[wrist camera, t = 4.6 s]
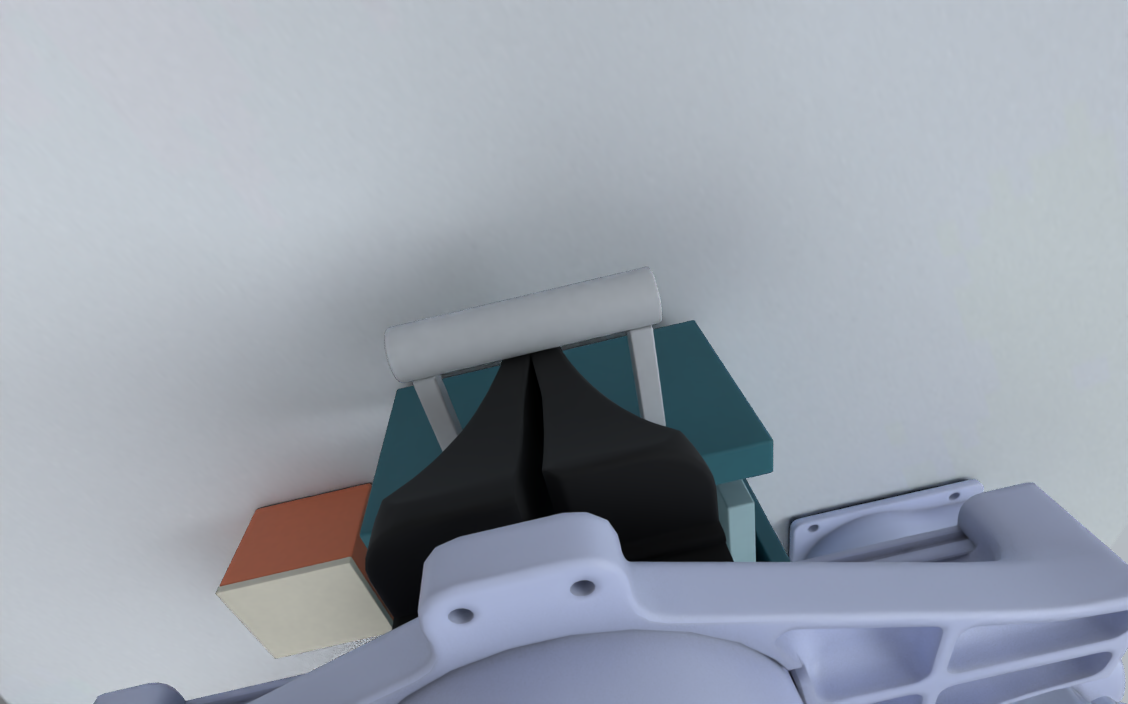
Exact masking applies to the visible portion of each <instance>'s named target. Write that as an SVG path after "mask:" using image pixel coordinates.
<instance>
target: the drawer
mask: <svg viewBox="0 0 1128 704" xmlns="http://www.w3.org/2000/svg"><path fill="white" fill-rule="evenodd" d="M661 320H662V306H661V300H660V294H659V290H658V286H657V283H656V280H655V277H654V274H653V272H652V271H651V269H650V268H649V267H643V268H639V269H634V270H630V271H626V272H622V273H617V274H613V275H609V276H605V277H600V278H596V279H592V280H588V281H583V282H579V283H575V284H571V285H567V286H562V287H558V288H554V289H550V290H545V291H541V292H537V293H533V294H528V295H524V296H520V297H516V298H511V299H507V300H503V301H499V302H494V303H490V304H486V305H482V306H478V307H473V308H469V309H465V310H461V311H456V312H452V313H448V314H444V315H439V316H435V317H431V318H427V319H422V320H418V321H414V322H410V323H405V324H401V325H397V326H393V327H389V328H388V329H387V330H386V332H385V338H384V344H385V352H386V357H387V360H388V363H389V366H390V369H391V371H392V373H393V375H394V376H395V378H396V379H397V380H398V381H399V382H401V383H406V382H410V381H413V385H414V386H409V387H405V388H401V389H398V390H397V392H396V395H395V399H394V403H393V407H392V411H391V415H390V419H389V422H388V426H387V430H386V434H385V438H384V442H383V446H382V449H381V453H380V457H379V461H378V465H377V469H376V473H375V476H374V480H373V484H372V488H371V492H370V496H369V500H368V503H367V507H366V511H365V515H364V519H363V523H362V526H361V530H360V538H361V540H362V541H363V543H364V544H365V546H366V548H367V549H368V545H369V541H370V537H371V532H372V528H373V525H374V522H375V518H376V516H377V513H378V510H379V508H380V505H381V502H382V500H383V499H384V498H386V497H387V496H389V495H390V494H392V493H393V492H395V491H396V490H397V489H399V488H400V487H402V486H403V485H404V484H406V483H407V482H409V481H410V480H411V479H413V478H414V477H415V476H416V475H418V474H419V473H420V472H421V471H422V470H424V469H425V468H426V467H427V466H428V465H429V464H430V463H432V462H433V461H434V460H435V459H436V458H437V457H438V456H439V455H440V454H441V453H442V452H443V451H444V450H445V449H446V448H447V447H448V446H449V445H450V443H451V442H452V441H453V440H454V439H455V438H456V437H457V436H458V435H459V434H460V433H461V431H462V430H463V429H464V427H465V426H466V425H467V424H468V422H469V421H470V419H471V418H472V417H473V415H474V414H475V412H476V410H477V409H478V407H479V405H480V404H481V402H482V400H483V399H484V397H485V396H486V394H487V392H488V390H489V388H490V386H491V384H492V382H493V380H494V378H495V376H496V374H497V372H498V370H499V367H500V365H499V366H495V367H491V368H486V369H482V370H478V371H474V372H469V373H465V374H461V375H456V376H452V377H448V378H444V379H442V378H441V375H440V374H444V373H448V372H453V371H457V370H461V369H465V368H470V367H474V366H478V365H482V364H487V363H491V362H495V361H499V360H504V359H508V358H512V357H517V356H521V355H525V354H529V353H534V352H538V351H542V350H546V349H551V348H555V347H559V346H564V345H568V344H572V343H576V342H581V341H585V340H589V339H593V338H598V337H602V336H606V335H610V334H615V333H619V332H623V331H626V333H627V336H623V337H619V338H614V339H610V340H606V341H602V342H597V343H593V344H589V345H585V346H580V347H576V348H572V349H567V350H563V353H564V354H565V356H566V357H567V359H568V360H569V361H570V362H571V364H572V365H573V366H574V367H575V368H576V369H577V370H578V372H579V373H580V374H581V375H582V376H583V377H584V378H585V379H586V380H587V381H588V382H589V383H590V384H591V385H592V386H594V387H595V388H596V389H597V390H598V391H599V392H601V393H602V394H603V395H604V396H606V397H607V398H608V399H610V400H611V401H613V402H614V403H616V404H617V405H619V406H620V407H622V408H623V409H625V410H627V411H629V412H631V413H633V414H635V415H637V416H638V417H641V418H643V419H646V420H648V421H650V422H653V423H656V424H659V425H662V426H666V427H669V428H673V429H676V430H679V431H681V432H682V433H683V434H684V435H685V436H686V437H687V438H688V440H689V441H690V442H691V443H692V444H693V446H694V447H695V448H696V450H697V451H698V452H699V453H700V455H701V456H702V458H703V459H704V461H705V462H706V464H707V465H708V467H709V469H710V471H711V473H712V475H713V477H714V480H715V484H716V488H717V500H718V513H719V521H720V523H721V526H722V528H723V530H724V532H725V536H726V544H727V547H728V549H729V551H730V554H731V556H732V558H733V560H734V562H756V546H755V504H754V501H753V499H752V497H751V495H750V493H749V491H748V489H747V487H746V486H745V484H744V482H743V480H742V479H745V478H750V477H754V476H758V475H763V474H767V473H771V472H773V439H772V438H771V436H770V435H769V433H768V432H767V430H766V429H765V427H764V426H763V424H762V423H761V421H760V420H759V418H758V416H757V415H756V413H755V412H754V410H753V409H752V407H751V406H750V404H749V403H748V401H747V400H746V398H745V397H744V395H743V394H742V392H741V391H740V389H739V388H738V386H737V385H736V383H735V381H734V380H733V378H732V377H731V375H730V374H729V372H728V371H727V369H726V368H725V366H724V365H723V363H722V362H721V360H720V359H719V357H718V356H717V354H716V353H715V351H714V350H713V348H712V346H711V345H710V343H709V342H708V340H707V339H706V337H705V336H704V334H703V333H702V331H701V330H700V328H699V327H698V325H697V324H696V322H695V321H694V320H691V321H687V322H683V323H679V324H674V325H670V326H666V327H661V328H657V329H653V327H652V325H653V324H657V323H660V322H661Z"/></svg>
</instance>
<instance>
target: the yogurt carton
mask: <svg viewBox="0 0 1128 704" xmlns="http://www.w3.org/2000/svg"><path fill="white" fill-rule="evenodd" d="M371 488H372V485H371V484H370V483H368V484H364V485H359V486H355V487H351V488H346V489H342V490H338V491H333V492H329V493H325V494H320V495H316V496H312V497H307V498H303V499H299V500H294V501H290V502H286V503H281V504H277V505H273V506H269V507H264V508H260V509H257V510H256V511H255V513H254V515H253V517H252V519H251V521H250V523H249V525H248V527H247V530H246V532H245V534H244V536H243V538H242V540H241V542H240V544H239V546H238V548H237V550H236V552H235V554H234V557H233V559H232V561H231V563H230V565H229V567H228V569H227V571H226V573H225V575H224V577H223V579H222V581H221V584H220V587H218V589H217V591H216V593H215V594H216V595H217V596H218V597H219V598H220V599H221V601H222V602H223V603H224V604H225V605H226V606H227V607H228V608H229V609H230V610H231V611H232V613H233V614H234V615H235V616H236V617H237V618H238V619H239V620H240V621H241V622H242V623H243V624H244V626H245V627H246V628H247V629H248V630H249V631H250V632H251V633H252V634H253V635H254V636H255V638H256V639H257V640H258V641H259V642H260V643H261V644H262V645H263V646H264V647H265V648H266V650H267V651H268V652H269V653H270V654H271V655H272V656H273V657H274V658H275V659H278V658H282V657H286V656H291V655H295V654H300V653H304V652H308V651H313V650H317V649H322V648H326V647H330V646H335V645H339V644H344V643H348V642H353V641H357V640H361V639H366V638H370V637H375V636H379V635H383V634H385V633H387V632H389V631H391V630H392V626H393V620H394V617H393V616H392V614H391V613H390V611H389V610H388V608H387V607H386V605H385V604H384V602H383V601H382V599H381V598H380V596H379V595H378V593H377V591H376V590H375V588H374V587H373V585H372V584H371V582H370V580H369V578H368V576H367V573H366V571H365V558H366V554H367V548H366V546H365V544H364V543H363V541H362V540H361V538H360V530H361V526H362V523H363V519H364V515H365V511H366V507H367V503H368V500H369V496H370V492H371Z"/></svg>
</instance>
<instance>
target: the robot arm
mask: <svg viewBox="0 0 1128 704" xmlns="http://www.w3.org/2000/svg"><path fill="white" fill-rule="evenodd" d="M983 490H984V486H983V485H982V484H981V483H980V482H979V481H978V480H976V479H971V480H966V481H962V482H957V483H953V484H948V485H944V486H940V487H935V488H931V489H926V490H922V491H918V492H913V493H909V494H905V495H900V496H896V497H891V498H887V499H883V500H878V501H874V502H869V503H865V504H861V505H856V506H852V507H847V508H843V509H839V510H834V511H830V512H825V513H821V514H817V515H812V516H808V517H803V518H799V519H797V520H795V521H793V523H792V524H791V526H790V550H789V559H790V561H791V562H734V560H733V558H732V556H731V554H730V551H729V549H728V547H727V544H726V536H725V532H724V530H723V528H722V526H721V523H720V521H719V513H718V500H717V488H716V484H715V480H714V477H713V475H712V473H711V471H710V469H709V467H708V465H707V464H706V462H705V461H704V459H703V458H702V456H701V455H700V453H699V452H698V451H697V450H696V448H695V447H694V446H693V444H692V443H691V442H690V441H689V440H688V438H687V437H686V436H685V435H684V434H683V433H682V432H681V431H679V430H676V429H673V428H669V427H666V426H662V425H659V424H656V423H653V422H650V421H648V420H646V419H643V418H641V417H638V416H637V415H635V414H633V413H631V412H629V411H627V410H625V409H623V408H622V407H620V406H619V405H617V404H616V403H614V402H613V401H611V400H610V399H608V398H607V397H606V396H604V395H603V394H602V393H601V392H599V391H598V390H597V389H596V388H595V387H594V386H592V385H591V384H590V383H589V382H588V381H587V380H586V379H585V378H584V377H583V376H582V375H581V374H580V373H579V372H578V370H577V369H576V368H575V367H574V366H573V365H572V364H571V362H570V361H569V360H568V359H567V357H566V356H565V354H564V353H563V351H562V350H561V348H560V346H559V347H555V348H551V349H546V350H542V351H538V352H534V353H529V354H525V355H521V356H517V357H512V358H508V359H504V360H502V363H501V365H500V367H499V370H498V372H497V374H496V376H495V378H494V380H493V382H492V384H491V386H490V388H489V390H488V392H487V394H486V396H485V397H484V399H483V400H482V402H481V404H480V405H479V407H478V409H477V410H476V412H475V414H474V415H473V417H472V418H471V419H470V421H469V422H468V424H467V425H466V426H465V427H464V429H463V430H462V431H461V433H460V434H459V435H458V436H457V437H456V438H455V439H454V440H453V441H452V442H451V443H450V445H449V446H448V447H447V448H446V449H445V450H444V451H443V452H442V453H441V454H440V455H439V456H438V457H437V458H436V459H435V460H434V461H433V462H432V463H430V464H429V465H428V466H427V467H426V468H425V469H424V470H422V471H421V472H420V473H419V474H418V475H416V476H415V477H414V478H413V479H411V480H410V481H409V482H407V483H406V484H404V485H403V486H402V487H400V488H399V489H397V490H396V491H395V492H393V493H392V494H390V495H389V496H387V497H386V498H384V499H383V500H382V502H381V505H380V508H379V510H378V513H377V516H376V518H375V522H374V525H373V528H372V532H371V537H370V541H369V545H368V549H367V554H366V558H365V571H366V573H367V576H368V578H369V580H370V582H371V584H372V585H373V587H374V588H375V590H376V591H377V593H378V595H379V596H380V598H381V599H382V601H383V602H384V604H385V605H386V607H387V608H388V610H389V611H390V613H391V614H392V616H393V617H394V620H393V626H392V630H391V631H389V632H387V633H385V634H383V635H382V636H380V637H378V638H376V639H374V640H372V641H370V642H368V643H366V644H364V645H362V646H360V647H358V648H356V649H354V650H352V651H350V652H348V653H346V654H344V655H342V656H340V657H338V658H336V659H334V660H332V661H330V662H328V663H326V664H324V665H322V666H320V667H318V668H316V669H314V670H313V671H311V672H309V673H306V674H302V675H297V676H293V677H289V678H284V679H280V680H275V681H271V682H267V683H262V684H258V685H253V686H249V687H245V688H240V689H236V690H231V691H227V692H223V693H218V694H214V695H210V696H205V697H201V698H196V699H192V700H188V701H185V700H184V698H183V697H182V696H181V694H180V693H179V692H178V691H177V690H176V689H174V688H173V687H171V686H169V685H167V684H162V683H148V684H143V685H139V686H135V687H130V688H126V689H122V690H117V691H113V692H108V693H104V694H102V695H100V696H98V697H97V699H96V700H95V702H94V704H1126V703H1123V702H1121V700H1122V698H1123V696H1124V691H1125V673H1124V667H1123V664H1122V660H1121V658H1122V656H1123V655H1124V654H1125V652H1126V650H1127V649H1128V564H1127V563H1126V562H1124V561H1123V560H1122V559H1121V558H1120V557H1119V556H1118V555H1116V554H1115V553H1114V552H1113V551H1112V550H1111V549H1110V548H1108V547H1107V546H1106V545H1105V544H1104V543H1103V542H1101V541H1100V540H1099V539H1098V538H1097V537H1096V536H1095V535H1093V534H1092V533H1091V532H1090V531H1089V530H1088V529H1086V528H1085V527H1084V526H1083V525H1082V524H1081V523H1080V522H1078V521H1077V520H1076V519H1075V518H1074V517H1073V516H1071V515H1070V514H1069V513H1068V512H1067V511H1066V510H1065V509H1063V508H1062V507H1061V506H1060V505H1059V504H1058V503H1056V502H1055V501H1054V500H1053V499H1052V498H1051V497H1050V496H1048V495H1047V494H1046V493H1045V492H1044V491H1043V490H1041V489H1040V488H1039V487H1038V486H1037V485H1036V484H1034V483H1022V484H1018V485H1014V486H1009V487H1005V488H1000V489H996V490H992V491H987V492H983Z"/></svg>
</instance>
